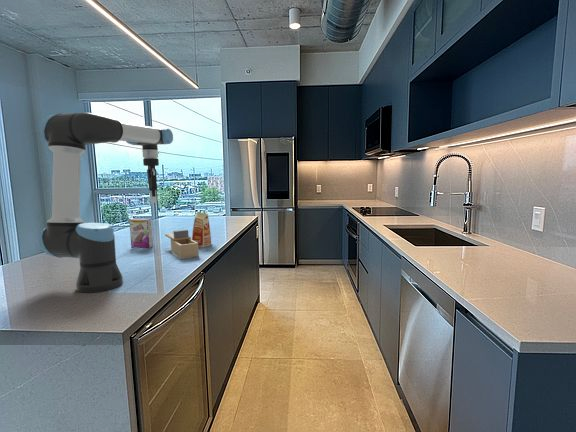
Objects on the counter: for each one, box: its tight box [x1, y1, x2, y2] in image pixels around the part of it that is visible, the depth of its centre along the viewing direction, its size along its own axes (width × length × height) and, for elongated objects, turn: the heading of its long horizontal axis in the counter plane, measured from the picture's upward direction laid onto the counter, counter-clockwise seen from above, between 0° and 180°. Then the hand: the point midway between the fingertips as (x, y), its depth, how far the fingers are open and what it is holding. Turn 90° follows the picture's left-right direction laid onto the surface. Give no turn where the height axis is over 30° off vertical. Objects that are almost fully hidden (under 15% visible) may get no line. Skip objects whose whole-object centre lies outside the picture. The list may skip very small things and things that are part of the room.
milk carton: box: [191, 211, 212, 248], centre depth 189 cm, size 9×9×20 cm
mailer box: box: [170, 238, 200, 260], centre depth 168 cm, size 9×18×7 cm, turn 34°
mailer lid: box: [164, 229, 192, 241], centre depth 177 cm, size 9×18×5 cm, turn 34°
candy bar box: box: [129, 218, 154, 249], centre depth 186 cm, size 11×5×16 cm, turn 84°
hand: (153, 202), depth 174 cm, fingers closed
